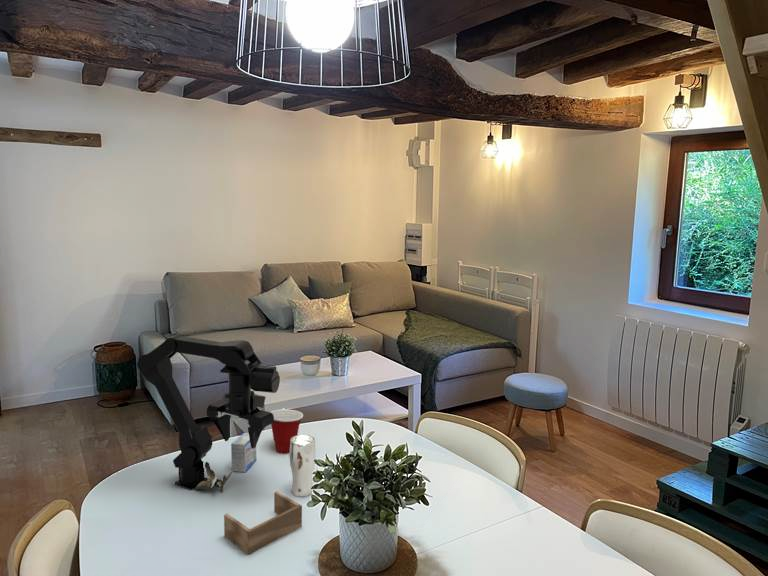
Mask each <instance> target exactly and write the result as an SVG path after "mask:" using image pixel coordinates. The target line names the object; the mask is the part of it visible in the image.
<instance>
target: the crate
mask: <svg viewBox="0 0 768 576" xmlns="http://www.w3.org/2000/svg"><path fill="white" fill-rule="evenodd" d="M273 494H274V495H273V496H274V498H273V499H274V500H273V501H274V502H273V503H274V506H273V512H274V514H277V515H274V516H273V517H271V518H269V519H268V520H265V521H263V522H262V523H259V524H257V525H255V526H253V527H251V528H249V527H248V526H246V525H245V524H243V523H242V522H240V521H239V520H237V519H236V518H234V517H233V516H231V515H230V514H229V513H225V514H224V515H223V528H224V529H223V530H224V537H225V538H226V539H227V540H229V541H230V542H232V543H233V544H234V545H236V546H237V547H238V548H239V549H241V550H243V551H244V552H245V553H246V554H248V555H251V554H253V553H254V552H257V551H258V550H260V549H262V548H264V547H266V546H268V545H270V544H271V543H273V542H275V541H277V540H279V539H280V538H283V537H284V536H287V535H288V534H290V533H292V532H294V531H296V530H297V529H300V528H301V527H302V526H303V505H302V504H300V503H298V502H297V501H295V500H293V499H291V498H289V497H288V496H286V495H285V494H283V493H281V492H279V491H278V490H276V491H274V492H273Z"/></svg>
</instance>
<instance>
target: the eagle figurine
mask: <svg viewBox="0 0 768 576" xmlns="http://www.w3.org/2000/svg"><path fill="white" fill-rule="evenodd" d="M204 469H205V472H206V474H207V476H208V478H210V479H208V480H207V481H202V482H200V483H199V484H198V485H197V486H196V487H195V488H194V489H193V490H207V489H209V488H213V487H215V488H218V489H219V491H220V493H223V489H224V486H225V484H226V483H227V481H229V480H228V479H229V478H230V477H231V474H233V473H232V472H233V471H230V472H229V474H228V475H227V476H226V475H225V474H223V476H222V479H219V478H218V477H217V476H216V473H215V471H214V470H213V469H212V468H211V466H210V463H209V462H208V461H205V463H204ZM218 483H220V485H219V484H218ZM210 486H211V487H210Z"/></svg>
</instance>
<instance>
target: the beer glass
mask: <svg viewBox="0 0 768 576" xmlns="http://www.w3.org/2000/svg"><path fill="white" fill-rule="evenodd" d="M316 449H317V448H316V438H315V437H314V436H313V435H310V434H297V436H294V437H292V438H291V440H290V453H289V465H290V470H291V471H290V472H291V476H292V480H291V481H292V482H291V483H292V485H291V488H290V493H291V494H292V495H293V496H295V497H299V498H304V497H308V496H311V495H312V494H313V493H312V490H311V487H312V486H313V474H314V469H315V464H316V462H315V463H314V460H315V461H316V454H317V453H316V452H317V451H316ZM313 487H314V486H313Z"/></svg>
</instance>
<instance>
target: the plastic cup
mask: <svg viewBox="0 0 768 576" xmlns="http://www.w3.org/2000/svg"><path fill="white" fill-rule="evenodd" d="M270 412H271V413H272V414H273V415H274V423H272V424H270V425H271V429H272V431H271V432H272V438H273V441H274V448H275V451H276V452H277V453H278V454H290V440H291V438H292V437H294V436H297V435H299V434H298V433H299V429H300V424H301V420H302V419H303V417H304V414H303V412H301V411H298V410H294V409H287V408H286V409H285V408H284V409H276V410H275V409H274V410H272V411H270Z"/></svg>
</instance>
